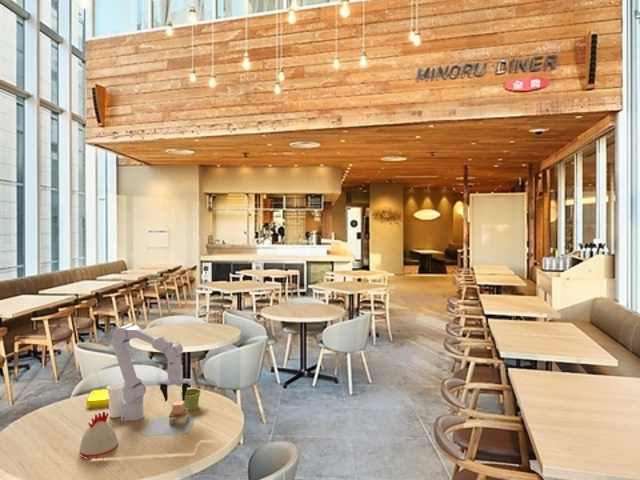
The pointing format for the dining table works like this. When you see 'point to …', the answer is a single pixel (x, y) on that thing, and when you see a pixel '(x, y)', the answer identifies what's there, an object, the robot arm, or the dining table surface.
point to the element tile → (98, 399)
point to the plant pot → (192, 398)
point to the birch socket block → (178, 417)
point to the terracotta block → (178, 407)
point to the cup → (115, 399)
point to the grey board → (167, 427)
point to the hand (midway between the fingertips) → (174, 400)
